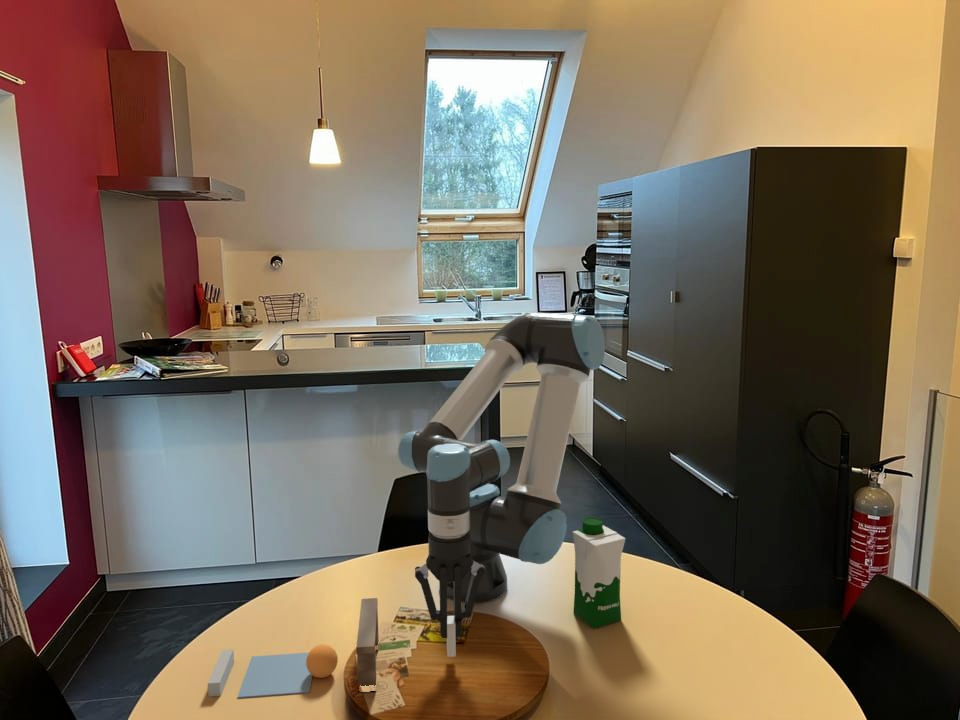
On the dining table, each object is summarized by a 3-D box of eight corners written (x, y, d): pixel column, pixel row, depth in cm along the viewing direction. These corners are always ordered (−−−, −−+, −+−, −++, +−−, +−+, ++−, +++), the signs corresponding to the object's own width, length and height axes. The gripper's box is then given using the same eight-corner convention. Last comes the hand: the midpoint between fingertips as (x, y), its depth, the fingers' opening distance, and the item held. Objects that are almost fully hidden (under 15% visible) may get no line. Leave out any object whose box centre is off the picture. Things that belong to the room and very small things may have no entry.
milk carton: (601, 602, 151) (602, 513, 148) (628, 621, 143) (630, 528, 140) (567, 612, 147) (568, 521, 144) (593, 633, 139) (595, 537, 136)
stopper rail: (223, 662, 130) (222, 650, 130) (234, 661, 130) (233, 649, 130) (208, 696, 120) (207, 683, 120) (220, 695, 121) (219, 682, 120)
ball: (341, 641, 129) (331, 669, 129) (312, 635, 128) (302, 662, 128) (342, 658, 124) (332, 687, 124) (311, 652, 122) (301, 680, 123)
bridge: (358, 697, 120) (356, 647, 119) (363, 643, 136) (361, 598, 135) (376, 695, 120) (374, 646, 119) (378, 642, 137) (377, 597, 135)
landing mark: (252, 657, 132) (251, 656, 132) (317, 652, 133) (317, 651, 133) (237, 698, 120) (237, 697, 120) (309, 692, 121) (309, 691, 121)
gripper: (413, 541, 121) (416, 667, 125) (488, 537, 123) (488, 661, 127) (412, 524, 129) (415, 643, 133) (483, 521, 130) (484, 638, 134)
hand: (451, 652), depth 130 cm, fingers closed
